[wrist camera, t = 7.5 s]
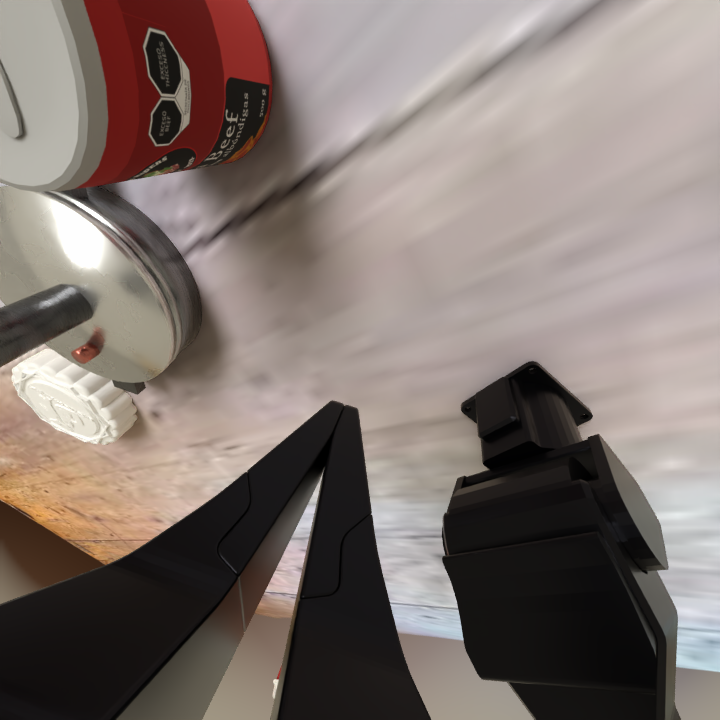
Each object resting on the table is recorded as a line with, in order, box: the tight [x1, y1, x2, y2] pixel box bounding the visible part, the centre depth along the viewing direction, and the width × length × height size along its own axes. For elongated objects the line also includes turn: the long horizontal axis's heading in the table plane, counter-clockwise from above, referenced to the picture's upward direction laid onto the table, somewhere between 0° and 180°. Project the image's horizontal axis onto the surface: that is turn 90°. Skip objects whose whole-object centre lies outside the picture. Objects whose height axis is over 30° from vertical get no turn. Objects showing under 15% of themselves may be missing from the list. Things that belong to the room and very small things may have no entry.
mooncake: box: [12, 349, 137, 445], centre depth 36 cm, size 12×12×4 cm
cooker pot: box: [49, 186, 202, 394], centre depth 25 cm, size 14×20×3 cm
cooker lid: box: [0, 186, 177, 383], centre depth 20 cm, size 15×15×9 cm
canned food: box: [0, 0, 272, 192], centre depth 12 cm, size 8×8×11 cm
